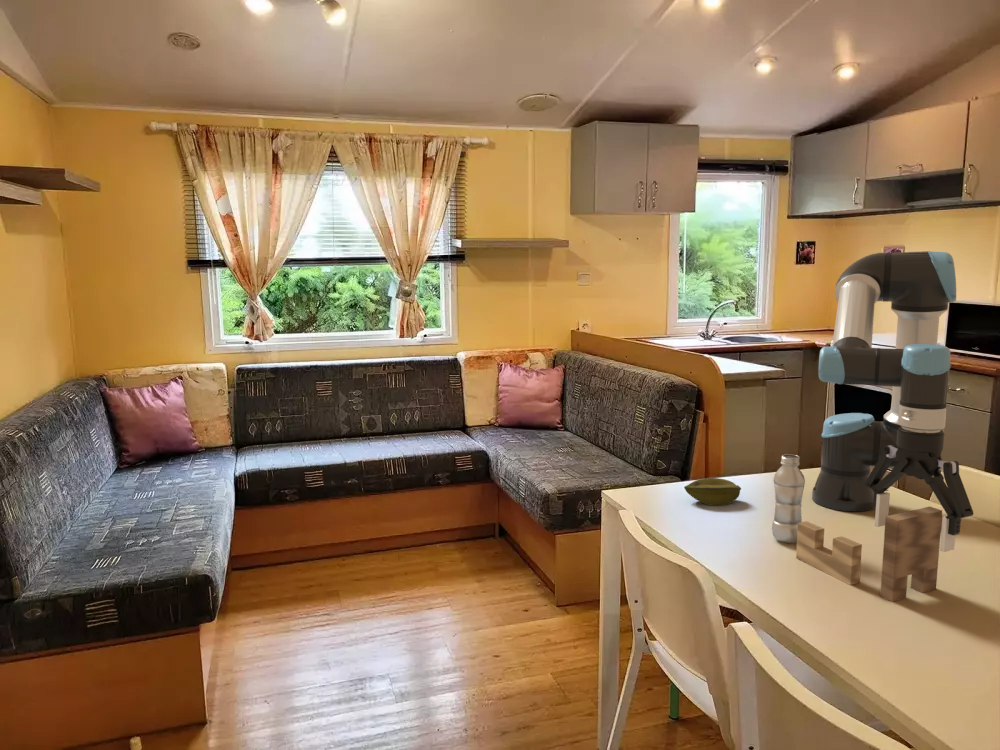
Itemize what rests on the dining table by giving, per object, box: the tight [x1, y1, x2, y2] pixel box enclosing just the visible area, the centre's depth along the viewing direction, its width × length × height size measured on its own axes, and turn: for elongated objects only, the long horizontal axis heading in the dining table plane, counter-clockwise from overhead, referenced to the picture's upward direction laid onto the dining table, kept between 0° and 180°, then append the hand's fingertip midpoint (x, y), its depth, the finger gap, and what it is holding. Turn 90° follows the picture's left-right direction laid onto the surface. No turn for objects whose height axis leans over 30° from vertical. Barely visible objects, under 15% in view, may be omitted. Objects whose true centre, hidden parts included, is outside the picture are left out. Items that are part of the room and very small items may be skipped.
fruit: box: [683, 477, 742, 507], centre depth 188 cm, size 11×12×7 cm
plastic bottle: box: [771, 453, 806, 544], centre depth 160 cm, size 6×7×20 cm
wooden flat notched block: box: [879, 506, 943, 603], centre depth 135 cm, size 12×2×16 cm, turn 113°
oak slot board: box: [795, 520, 863, 586], centre depth 146 cm, size 2×14×8 cm, turn 22°
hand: (912, 537), depth 134 cm, fingers open, 13 cm apart
